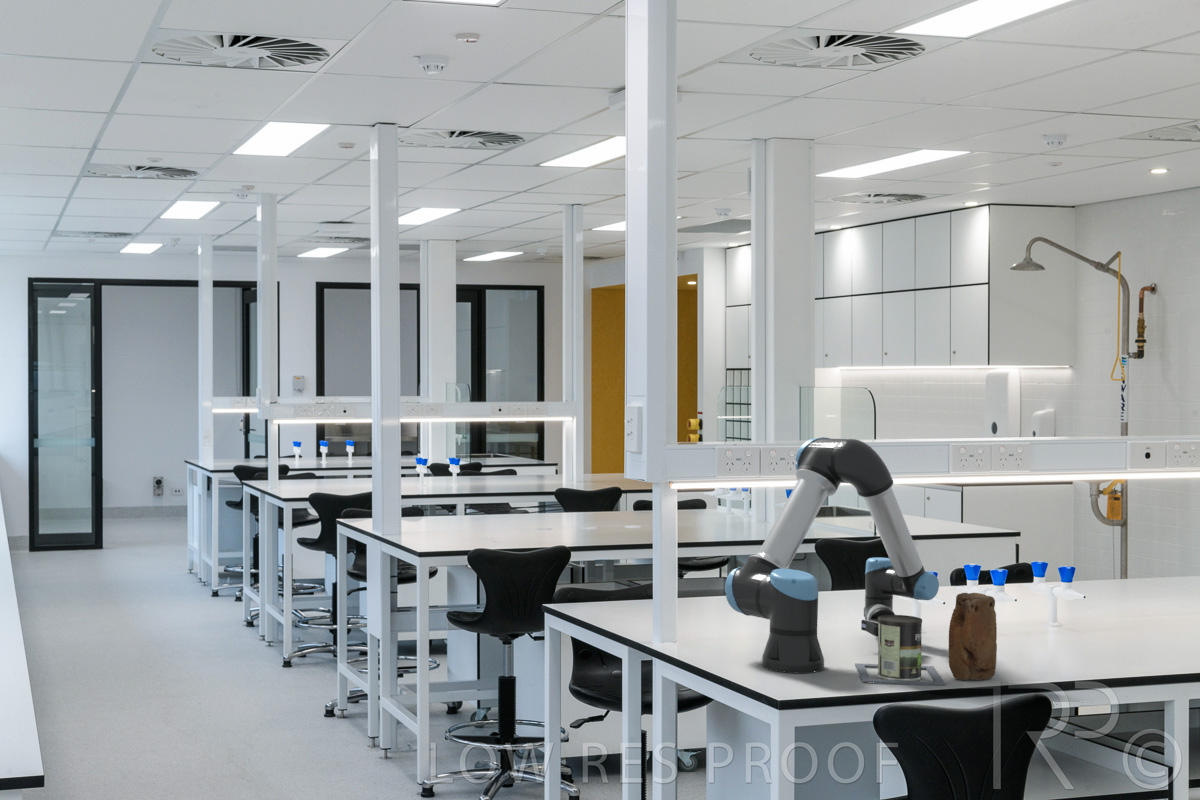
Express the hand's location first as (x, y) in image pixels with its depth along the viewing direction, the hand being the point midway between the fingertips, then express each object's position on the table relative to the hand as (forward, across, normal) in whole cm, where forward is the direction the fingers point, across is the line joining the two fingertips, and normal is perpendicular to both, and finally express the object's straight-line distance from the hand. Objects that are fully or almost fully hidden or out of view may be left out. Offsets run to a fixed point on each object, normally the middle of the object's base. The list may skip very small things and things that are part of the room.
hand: (892, 637), depth 304 cm
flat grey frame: (+13, 0, -7) cm, 14 cm away
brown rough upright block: (+13, -17, -7) cm, 22 cm away
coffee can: (+15, 0, -7) cm, 16 cm away
